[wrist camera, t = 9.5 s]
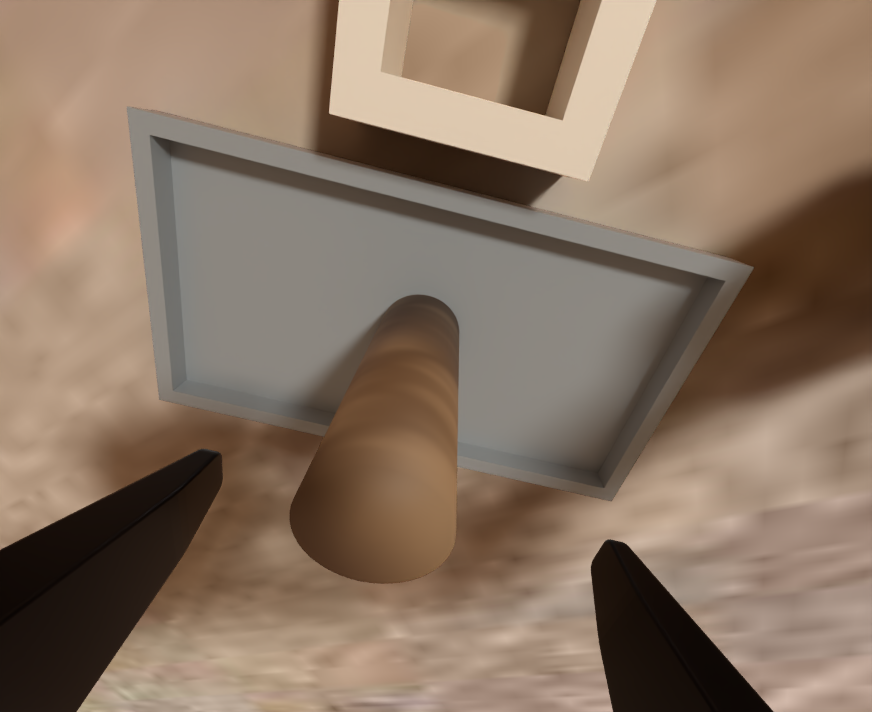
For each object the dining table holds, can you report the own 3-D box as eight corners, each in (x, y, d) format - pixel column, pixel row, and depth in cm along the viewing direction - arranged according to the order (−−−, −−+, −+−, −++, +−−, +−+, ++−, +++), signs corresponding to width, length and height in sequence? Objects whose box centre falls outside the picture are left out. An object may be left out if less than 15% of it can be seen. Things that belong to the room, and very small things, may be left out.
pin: (468, 305, 19) (475, 487, 9) (448, 374, 21) (434, 596, 11) (388, 285, 19) (295, 448, 9) (375, 357, 21) (285, 566, 10)
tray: (728, 257, 18) (754, 267, 17) (601, 478, 25) (611, 501, 23) (158, 111, 17) (126, 106, 15) (180, 382, 23) (159, 399, 22)
